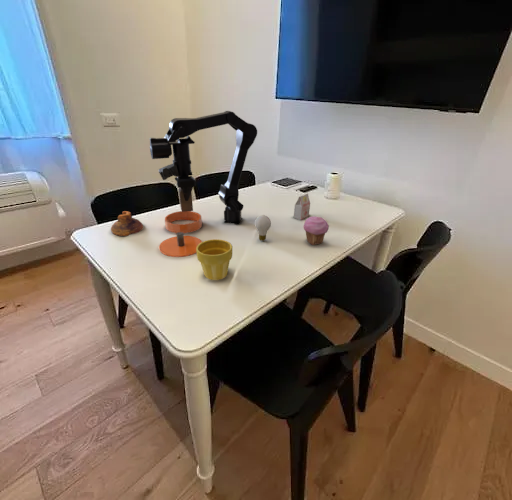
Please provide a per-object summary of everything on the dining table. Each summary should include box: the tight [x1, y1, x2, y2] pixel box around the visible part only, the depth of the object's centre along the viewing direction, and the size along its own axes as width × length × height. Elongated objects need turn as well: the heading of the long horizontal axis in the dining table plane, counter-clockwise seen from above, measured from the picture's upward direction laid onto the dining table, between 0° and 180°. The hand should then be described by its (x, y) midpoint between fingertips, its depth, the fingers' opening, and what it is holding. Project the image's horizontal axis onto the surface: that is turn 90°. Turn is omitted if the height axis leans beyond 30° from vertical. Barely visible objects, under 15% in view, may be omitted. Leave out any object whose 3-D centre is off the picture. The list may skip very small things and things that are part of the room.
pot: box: [164, 210, 203, 234], centre depth 121 cm, size 14×14×4 cm
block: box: [178, 188, 194, 212], centre depth 115 cm, size 4×4×8 cm
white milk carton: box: [293, 193, 311, 221], centre depth 132 cm, size 4×7×10 cm, turn 139°
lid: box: [158, 232, 203, 258], centre depth 105 cm, size 15×15×6 cm
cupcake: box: [302, 215, 330, 246], centre depth 110 cm, size 9×9×10 cm
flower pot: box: [196, 238, 233, 281], centre depth 90 cm, size 10×10×10 cm
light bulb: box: [254, 214, 272, 242], centre depth 110 cm, size 6×6×10 cm
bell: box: [110, 210, 144, 237], centre depth 117 cm, size 12×12×7 cm
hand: (185, 198), depth 115 cm, fingers closed on block, 4 cm apart
